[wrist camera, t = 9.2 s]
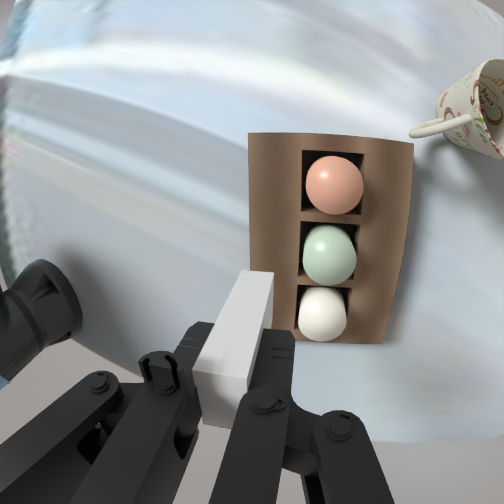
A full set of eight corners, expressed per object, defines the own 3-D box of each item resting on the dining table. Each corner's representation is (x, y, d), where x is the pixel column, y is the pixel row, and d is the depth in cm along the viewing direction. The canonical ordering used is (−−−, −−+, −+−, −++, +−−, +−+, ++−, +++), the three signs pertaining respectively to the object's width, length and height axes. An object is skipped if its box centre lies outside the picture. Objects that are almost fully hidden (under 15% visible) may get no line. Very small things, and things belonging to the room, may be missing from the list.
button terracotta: (305, 203, 25) (305, 212, 21) (306, 154, 23) (306, 155, 19) (354, 206, 24) (361, 216, 20) (356, 157, 22) (364, 159, 18)
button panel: (257, 318, 32) (251, 336, 29) (256, 134, 25) (247, 132, 22) (376, 325, 29) (381, 344, 26) (401, 143, 22) (413, 143, 19)
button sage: (303, 264, 27) (301, 283, 23) (305, 220, 25) (304, 233, 21) (347, 267, 26) (352, 286, 22) (352, 223, 24) (359, 236, 21)
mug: (496, 145, 19) (555, 152, 10) (411, 181, 23) (459, 201, 14) (468, 73, 17) (520, 53, 8) (376, 101, 21) (411, 77, 12)
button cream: (299, 316, 29) (296, 339, 25) (302, 279, 27) (300, 300, 24) (340, 319, 28) (342, 342, 24) (345, 282, 26) (350, 303, 23)
